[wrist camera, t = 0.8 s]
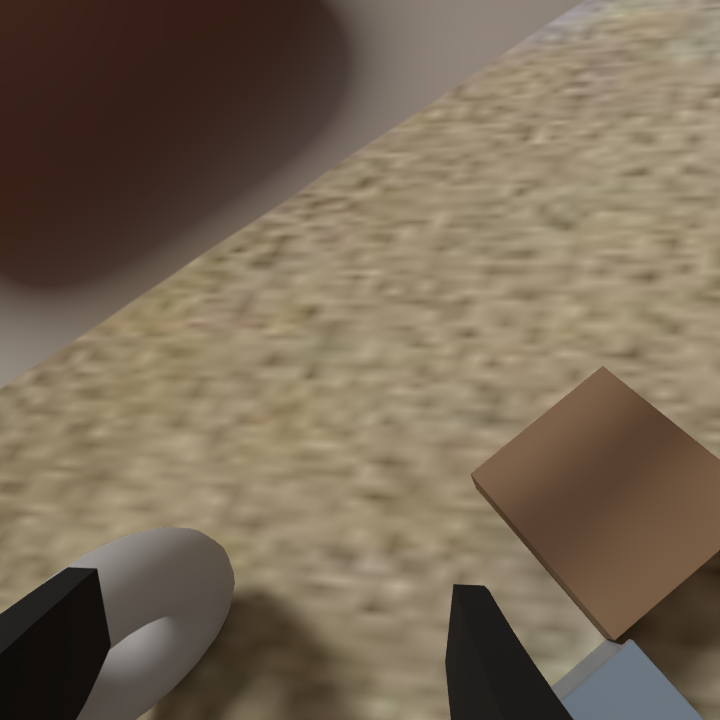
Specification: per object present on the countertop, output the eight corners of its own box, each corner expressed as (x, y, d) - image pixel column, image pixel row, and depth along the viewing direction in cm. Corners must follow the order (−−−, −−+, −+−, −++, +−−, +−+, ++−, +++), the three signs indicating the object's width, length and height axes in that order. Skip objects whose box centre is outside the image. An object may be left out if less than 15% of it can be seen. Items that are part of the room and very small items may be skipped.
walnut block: (742, 518, 20) (773, 503, 17) (603, 637, 19) (614, 640, 17) (594, 392, 24) (602, 365, 21) (476, 489, 23) (470, 474, 21)
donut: (242, 528, 26) (102, 485, 17) (283, 576, 24) (149, 553, 15) (102, 691, 24) (-129, 731, 16) (135, 755, 22) (-105, 839, 14)
